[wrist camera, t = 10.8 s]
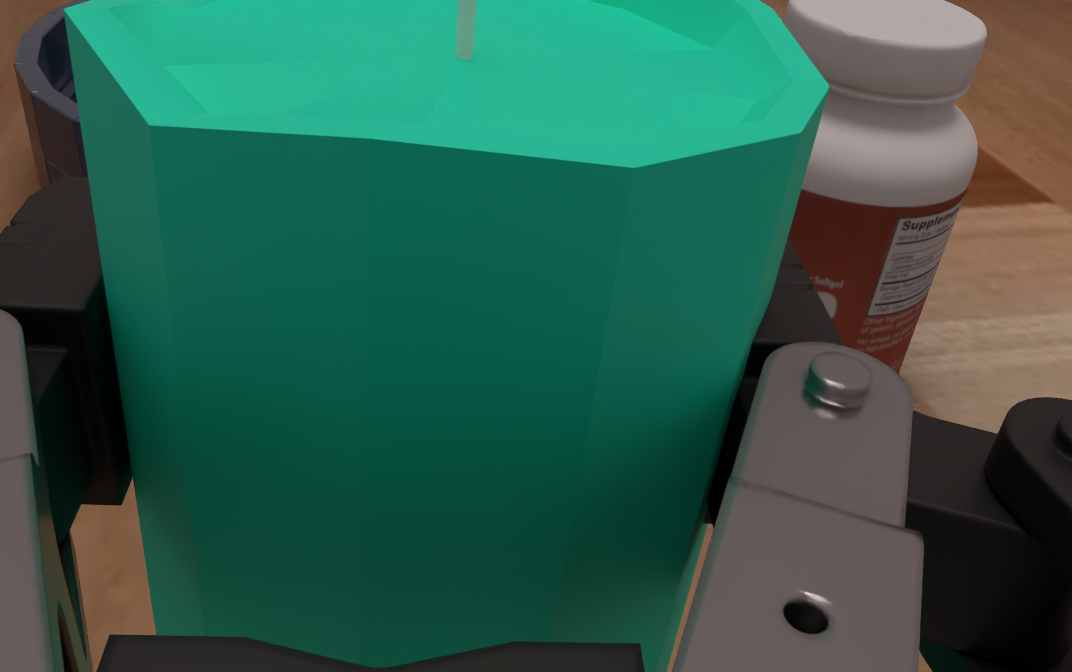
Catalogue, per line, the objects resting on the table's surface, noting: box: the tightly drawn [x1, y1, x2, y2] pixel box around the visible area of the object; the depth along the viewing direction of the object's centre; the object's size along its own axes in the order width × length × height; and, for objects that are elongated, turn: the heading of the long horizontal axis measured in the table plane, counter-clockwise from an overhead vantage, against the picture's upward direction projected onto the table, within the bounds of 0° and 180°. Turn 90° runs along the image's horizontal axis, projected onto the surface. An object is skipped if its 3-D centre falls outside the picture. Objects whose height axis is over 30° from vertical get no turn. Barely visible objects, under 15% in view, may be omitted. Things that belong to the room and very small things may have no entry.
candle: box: [63, 0, 830, 672], centre depth 11 cm, size 6×6×12 cm
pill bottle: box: [783, 0, 987, 374], centre depth 27 cm, size 6×6×11 cm
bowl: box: [14, 0, 90, 189], centre depth 38 cm, size 19×19×5 cm
